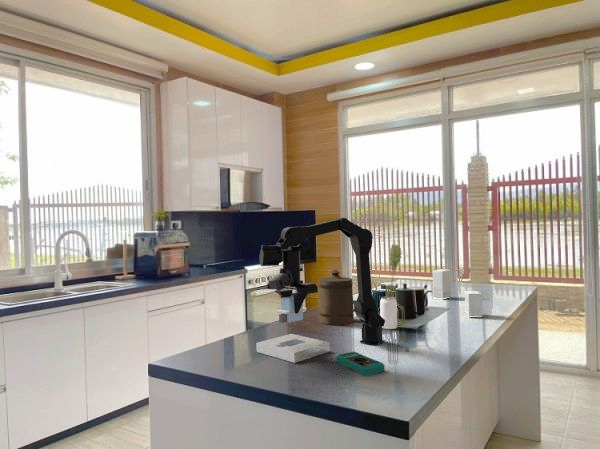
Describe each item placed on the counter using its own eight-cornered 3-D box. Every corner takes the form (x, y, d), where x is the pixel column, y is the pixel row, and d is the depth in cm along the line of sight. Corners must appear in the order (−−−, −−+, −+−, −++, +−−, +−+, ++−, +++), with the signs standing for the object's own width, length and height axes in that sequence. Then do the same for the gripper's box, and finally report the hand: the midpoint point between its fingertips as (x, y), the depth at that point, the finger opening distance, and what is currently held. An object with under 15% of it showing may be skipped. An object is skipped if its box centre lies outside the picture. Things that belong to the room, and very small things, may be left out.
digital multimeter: (365, 378, 122) (365, 367, 122) (335, 363, 135) (335, 353, 135) (386, 373, 125) (386, 362, 125) (355, 359, 138) (355, 350, 138)
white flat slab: (329, 351, 146) (329, 342, 146) (294, 362, 135) (294, 353, 135) (291, 342, 159) (291, 333, 159) (256, 351, 148) (256, 342, 148)
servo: (306, 318, 149) (306, 296, 149) (285, 323, 142) (284, 299, 142) (298, 317, 152) (298, 295, 152) (276, 321, 145) (276, 298, 145)
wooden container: (343, 316, 201) (342, 267, 201) (360, 323, 187) (358, 270, 187) (313, 319, 196) (312, 269, 196) (327, 326, 182) (326, 272, 182)
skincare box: (441, 297, 246) (440, 268, 246) (452, 298, 241) (451, 269, 241) (432, 299, 241) (431, 270, 241) (443, 300, 235) (442, 270, 235)
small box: (482, 318, 190) (482, 293, 190) (469, 318, 191) (468, 293, 191) (478, 314, 198) (477, 290, 198) (465, 314, 199) (464, 290, 199)
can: (390, 330, 173) (389, 299, 173) (377, 327, 178) (376, 297, 178) (400, 327, 177) (400, 297, 177) (387, 325, 182) (387, 295, 182)
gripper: (254, 265, 148) (255, 312, 148) (293, 268, 135) (293, 320, 135) (279, 263, 156) (280, 307, 156) (318, 266, 143) (319, 315, 143)
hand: (292, 312), depth 147 cm, fingers closed on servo, 4 cm apart
